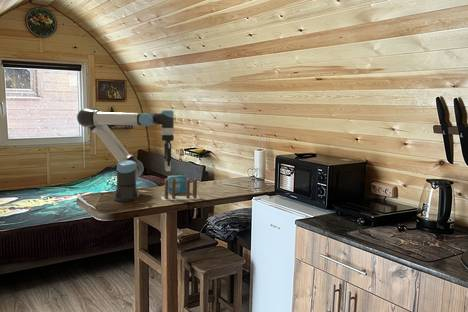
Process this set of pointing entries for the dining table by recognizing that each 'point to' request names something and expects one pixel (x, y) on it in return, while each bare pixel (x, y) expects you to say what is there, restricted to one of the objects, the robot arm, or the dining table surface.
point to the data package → (177, 183)
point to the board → (179, 198)
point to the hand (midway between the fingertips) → (167, 170)
